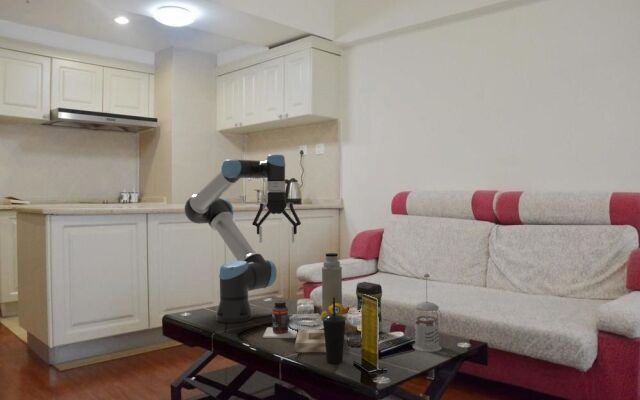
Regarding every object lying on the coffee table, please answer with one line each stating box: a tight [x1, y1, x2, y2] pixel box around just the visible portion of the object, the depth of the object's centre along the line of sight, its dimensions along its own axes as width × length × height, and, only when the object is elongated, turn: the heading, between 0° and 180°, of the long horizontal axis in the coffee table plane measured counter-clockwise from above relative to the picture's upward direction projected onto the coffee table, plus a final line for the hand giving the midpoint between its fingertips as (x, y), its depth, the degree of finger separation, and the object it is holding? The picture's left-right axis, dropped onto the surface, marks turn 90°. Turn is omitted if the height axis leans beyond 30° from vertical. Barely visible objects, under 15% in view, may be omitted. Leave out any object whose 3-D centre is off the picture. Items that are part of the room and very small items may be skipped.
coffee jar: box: [355, 281, 383, 334], centre depth 191 cm, size 10×8×19 cm
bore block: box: [294, 329, 345, 353], centre depth 176 cm, size 16×16×3 cm
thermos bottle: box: [321, 252, 343, 315], centre depth 205 cm, size 8×8×28 cm
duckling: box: [320, 303, 350, 322], centre depth 196 cm, size 11×5×10 cm, turn 73°
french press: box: [411, 273, 443, 353], centre depth 173 cm, size 10×12×25 cm
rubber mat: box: [262, 326, 298, 339], centre depth 190 cm, size 12×12×1 cm
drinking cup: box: [322, 298, 347, 365], centre depth 159 cm, size 8×8×20 cm
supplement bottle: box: [271, 300, 289, 333], centre depth 190 cm, size 6×6×11 cm
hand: (276, 242), depth 214 cm, fingers open, 13 cm apart
